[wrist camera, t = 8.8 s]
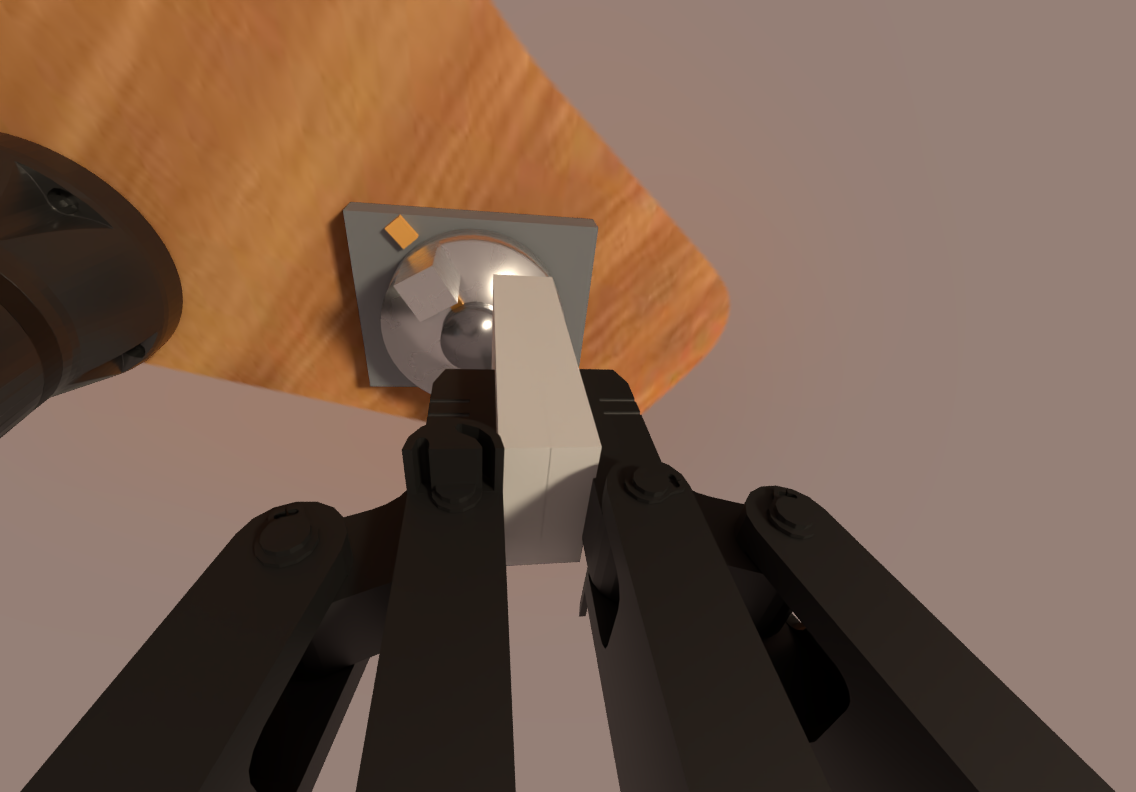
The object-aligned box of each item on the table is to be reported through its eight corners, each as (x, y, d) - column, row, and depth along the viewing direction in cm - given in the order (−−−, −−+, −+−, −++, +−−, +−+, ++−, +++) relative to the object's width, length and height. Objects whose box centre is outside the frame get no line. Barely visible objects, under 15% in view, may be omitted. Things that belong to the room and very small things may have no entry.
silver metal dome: (505, 406, 39) (508, 463, 34) (359, 339, 34) (335, 394, 29) (592, 288, 34) (613, 333, 29) (437, 189, 29) (426, 221, 24)
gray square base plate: (375, 372, 38) (368, 390, 36) (350, 201, 31) (340, 212, 29) (572, 374, 41) (577, 392, 39) (592, 219, 34) (600, 230, 32)
